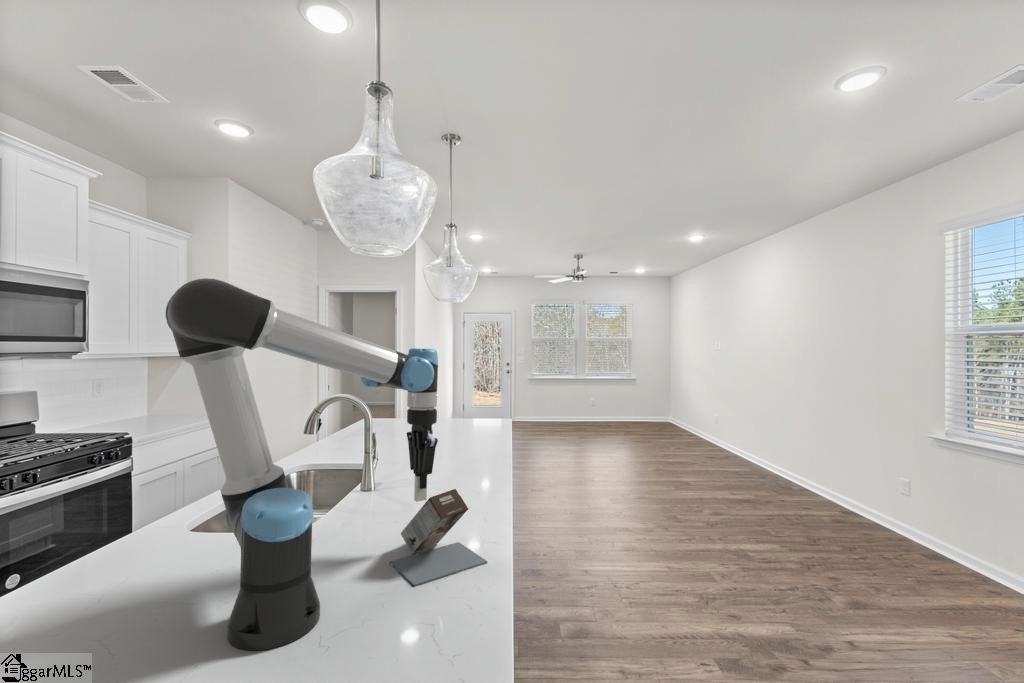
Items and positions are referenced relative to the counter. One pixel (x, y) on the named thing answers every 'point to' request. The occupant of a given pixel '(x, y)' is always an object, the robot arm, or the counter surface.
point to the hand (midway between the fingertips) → (420, 499)
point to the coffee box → (434, 520)
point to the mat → (437, 563)
